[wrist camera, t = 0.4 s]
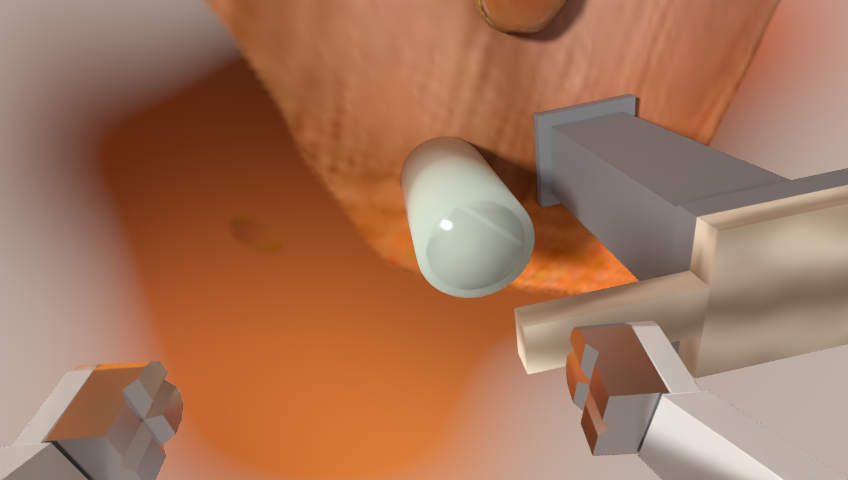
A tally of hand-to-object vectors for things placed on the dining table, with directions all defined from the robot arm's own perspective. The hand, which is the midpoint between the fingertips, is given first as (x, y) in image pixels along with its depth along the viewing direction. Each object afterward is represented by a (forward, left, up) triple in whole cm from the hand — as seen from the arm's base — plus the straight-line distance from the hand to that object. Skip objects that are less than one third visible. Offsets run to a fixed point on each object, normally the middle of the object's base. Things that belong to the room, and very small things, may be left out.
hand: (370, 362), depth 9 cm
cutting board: (+15, +19, -16) cm, 29 cm away
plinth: (+15, +25, -46) cm, 55 cm away
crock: (+15, +7, -46) cm, 49 cm away
